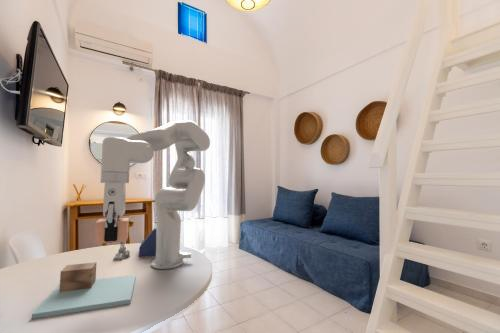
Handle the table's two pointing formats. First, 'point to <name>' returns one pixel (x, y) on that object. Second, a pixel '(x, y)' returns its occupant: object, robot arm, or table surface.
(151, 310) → the table surface
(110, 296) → the board
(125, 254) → the miniature building cluster
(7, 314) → the table surface
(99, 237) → the terracotta brick
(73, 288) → the walnut brick
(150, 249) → the blue angular block
